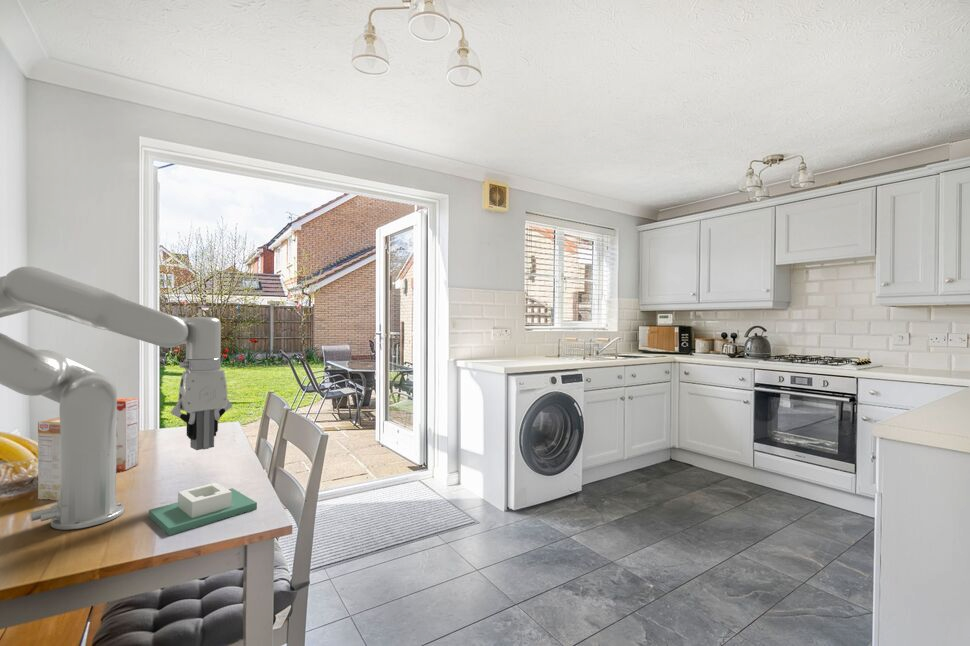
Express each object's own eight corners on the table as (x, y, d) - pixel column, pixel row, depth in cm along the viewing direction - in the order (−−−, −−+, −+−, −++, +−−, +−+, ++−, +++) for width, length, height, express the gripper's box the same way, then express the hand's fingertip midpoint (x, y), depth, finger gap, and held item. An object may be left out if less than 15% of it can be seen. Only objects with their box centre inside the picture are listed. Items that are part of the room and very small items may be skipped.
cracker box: (75, 471, 134) (75, 400, 134) (92, 465, 140) (92, 396, 140) (124, 471, 135) (125, 400, 134) (139, 465, 141) (139, 396, 140)
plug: (197, 450, 114) (198, 410, 114) (190, 447, 117) (191, 408, 117) (214, 447, 117) (215, 408, 117) (207, 444, 120) (208, 406, 120)
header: (192, 518, 101) (192, 502, 101) (177, 506, 107) (178, 491, 107) (231, 506, 108) (231, 491, 108) (216, 496, 113) (216, 482, 113)
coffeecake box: (93, 478, 129) (94, 409, 128) (116, 480, 128) (117, 410, 128) (35, 499, 114) (36, 420, 114) (61, 501, 113) (61, 422, 113)
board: (169, 535, 96) (169, 528, 96) (148, 516, 105) (148, 509, 105) (256, 508, 110) (256, 502, 110) (232, 493, 119) (232, 488, 119)
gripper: (171, 369, 108) (170, 446, 109) (243, 364, 122) (242, 433, 122) (159, 366, 113) (158, 441, 113) (231, 362, 126) (230, 429, 126)
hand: (202, 436), depth 117 cm, fingers closed on plug, 4 cm apart
